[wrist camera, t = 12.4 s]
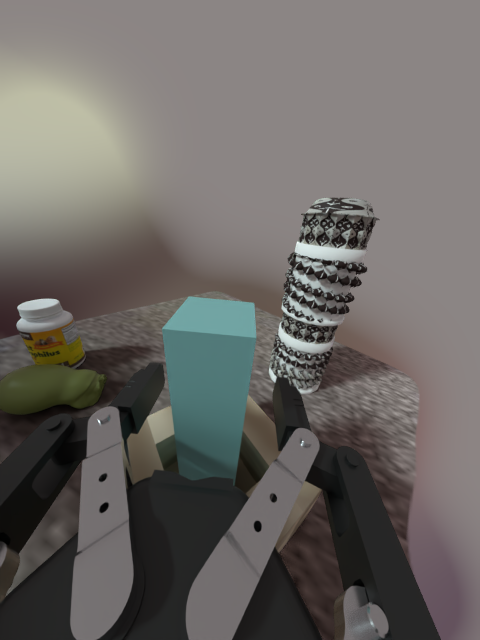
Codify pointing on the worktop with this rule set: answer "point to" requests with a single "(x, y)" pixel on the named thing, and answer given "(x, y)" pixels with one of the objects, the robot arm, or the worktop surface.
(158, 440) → the socket block
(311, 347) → the decorative candle
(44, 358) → the supplement bottle
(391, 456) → the worktop surface
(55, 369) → the pear
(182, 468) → the peg
